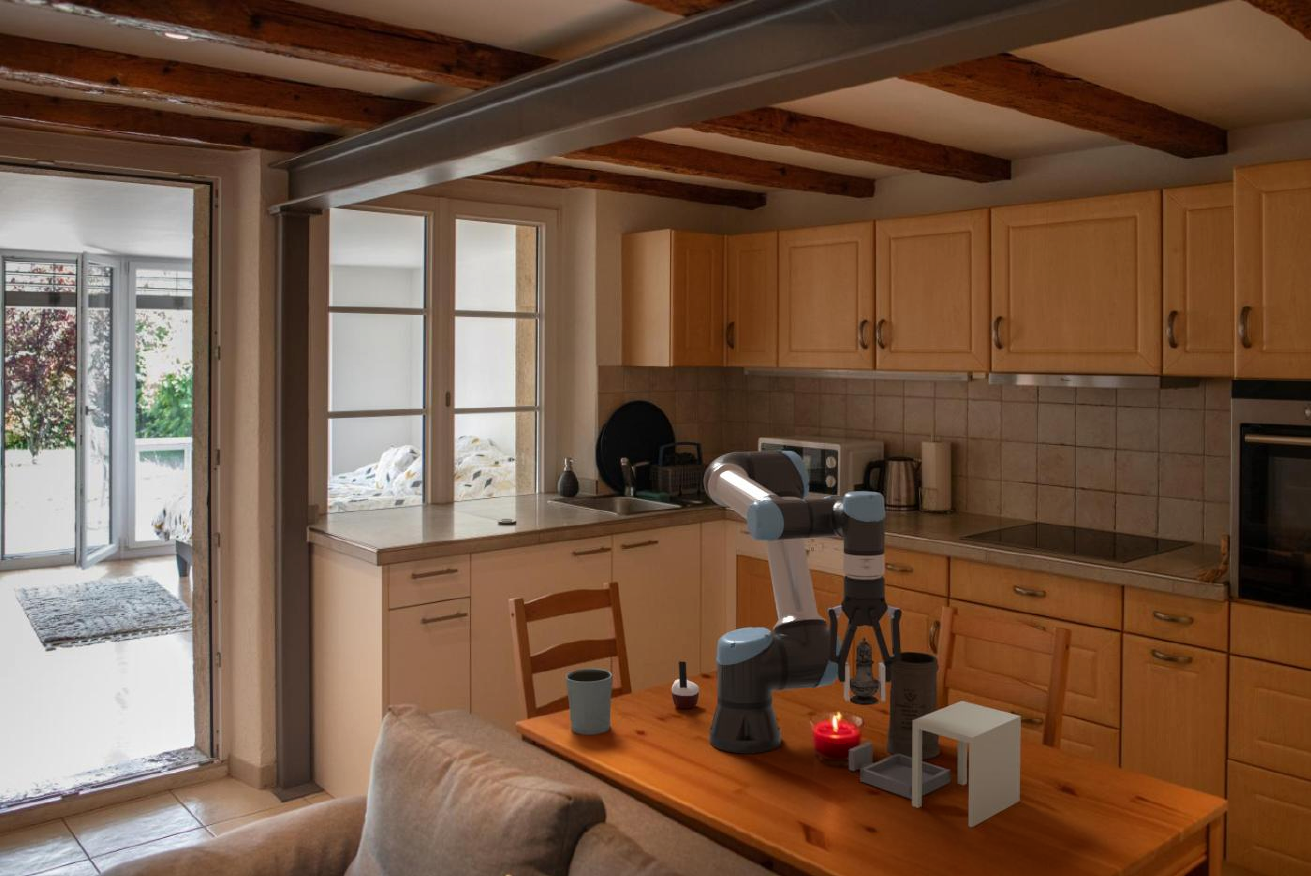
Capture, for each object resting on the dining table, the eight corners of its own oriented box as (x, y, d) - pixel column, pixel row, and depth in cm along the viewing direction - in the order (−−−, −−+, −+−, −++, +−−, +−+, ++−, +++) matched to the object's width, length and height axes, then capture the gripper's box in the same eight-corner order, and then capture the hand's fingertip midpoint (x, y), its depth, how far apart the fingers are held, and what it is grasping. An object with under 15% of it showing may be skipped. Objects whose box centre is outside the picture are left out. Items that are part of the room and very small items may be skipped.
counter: (912, 805, 187) (912, 720, 186) (961, 781, 197) (961, 700, 196) (971, 827, 178) (972, 737, 177) (1019, 800, 189) (1020, 715, 187)
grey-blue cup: (621, 729, 228) (620, 676, 227) (581, 739, 222) (580, 684, 221) (597, 717, 236) (596, 665, 235) (558, 726, 231) (557, 673, 230)
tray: (839, 773, 202) (839, 753, 201) (876, 757, 210) (876, 738, 209) (913, 799, 189) (913, 778, 189) (950, 781, 197) (950, 761, 197)
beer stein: (942, 763, 207) (942, 662, 207) (886, 759, 209) (887, 659, 209) (937, 741, 222) (937, 647, 222) (885, 737, 224) (886, 645, 224)
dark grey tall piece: (842, 701, 193) (841, 637, 193) (858, 694, 198) (858, 631, 197) (870, 707, 189) (870, 642, 189) (886, 699, 194) (886, 636, 193)
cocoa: (682, 701, 248) (681, 651, 248) (706, 704, 245) (705, 653, 245) (662, 711, 240) (661, 659, 240) (686, 714, 237) (685, 662, 237)
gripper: (814, 579, 189) (815, 704, 191) (919, 579, 188) (919, 705, 189) (811, 571, 197) (811, 692, 198) (911, 571, 196) (911, 692, 197)
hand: (864, 698), depth 194 cm, fingers closed on dark grey tall piece, 6 cm apart
